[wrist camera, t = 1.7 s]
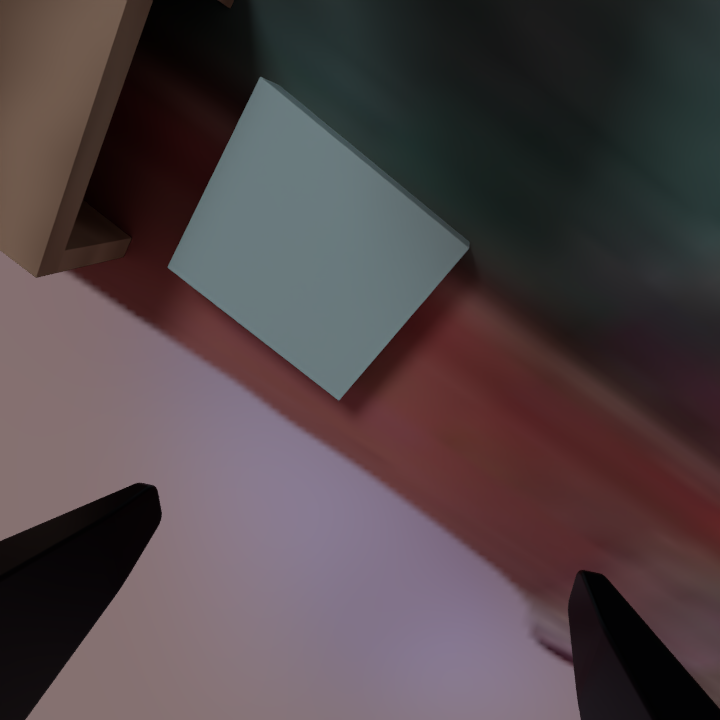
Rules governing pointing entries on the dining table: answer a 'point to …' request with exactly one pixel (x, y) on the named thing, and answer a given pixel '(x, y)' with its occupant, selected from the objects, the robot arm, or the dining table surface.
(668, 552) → the dining table surface
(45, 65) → the low shelf
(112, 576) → the robot arm
